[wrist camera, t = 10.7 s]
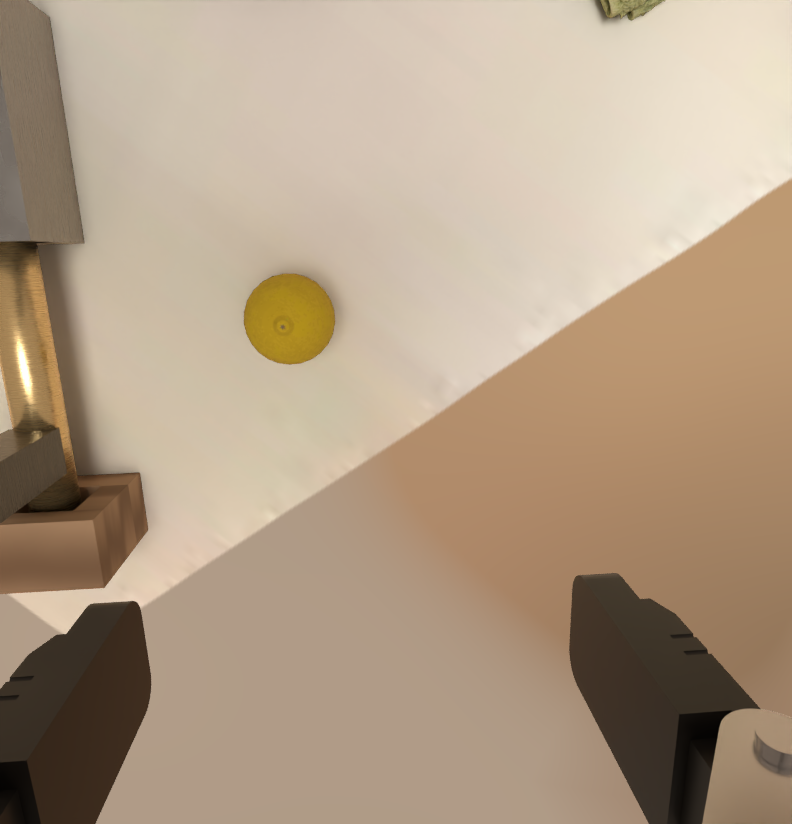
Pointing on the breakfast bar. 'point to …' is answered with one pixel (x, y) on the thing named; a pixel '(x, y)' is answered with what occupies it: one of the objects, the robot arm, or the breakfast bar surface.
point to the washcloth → (628, 7)
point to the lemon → (289, 319)
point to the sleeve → (33, 134)
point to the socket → (74, 538)
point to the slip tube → (31, 393)
